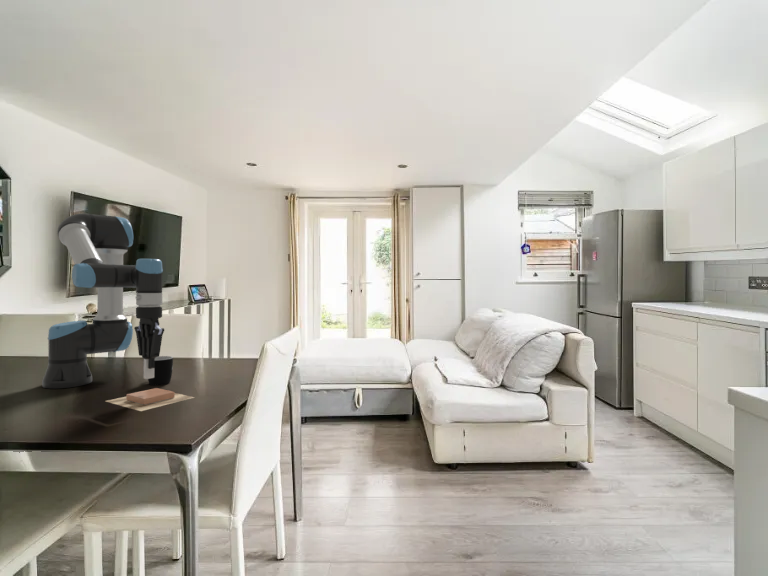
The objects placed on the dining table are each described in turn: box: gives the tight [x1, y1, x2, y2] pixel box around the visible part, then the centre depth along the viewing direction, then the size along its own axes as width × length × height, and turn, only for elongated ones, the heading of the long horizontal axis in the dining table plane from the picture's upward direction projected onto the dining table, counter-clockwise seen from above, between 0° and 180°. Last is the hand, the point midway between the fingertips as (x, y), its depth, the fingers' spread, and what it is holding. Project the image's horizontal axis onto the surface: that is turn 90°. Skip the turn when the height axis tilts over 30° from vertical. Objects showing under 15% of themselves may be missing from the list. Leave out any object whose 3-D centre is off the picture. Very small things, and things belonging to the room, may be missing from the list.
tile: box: [125, 387, 175, 405], centre depth 139 cm, size 2×10×10 cm
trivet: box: [104, 392, 196, 412], centre depth 139 cm, size 20×18×1 cm
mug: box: [147, 355, 174, 386], centre depth 162 cm, size 12×9×10 cm
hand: (148, 378), depth 140 cm, fingers closed
